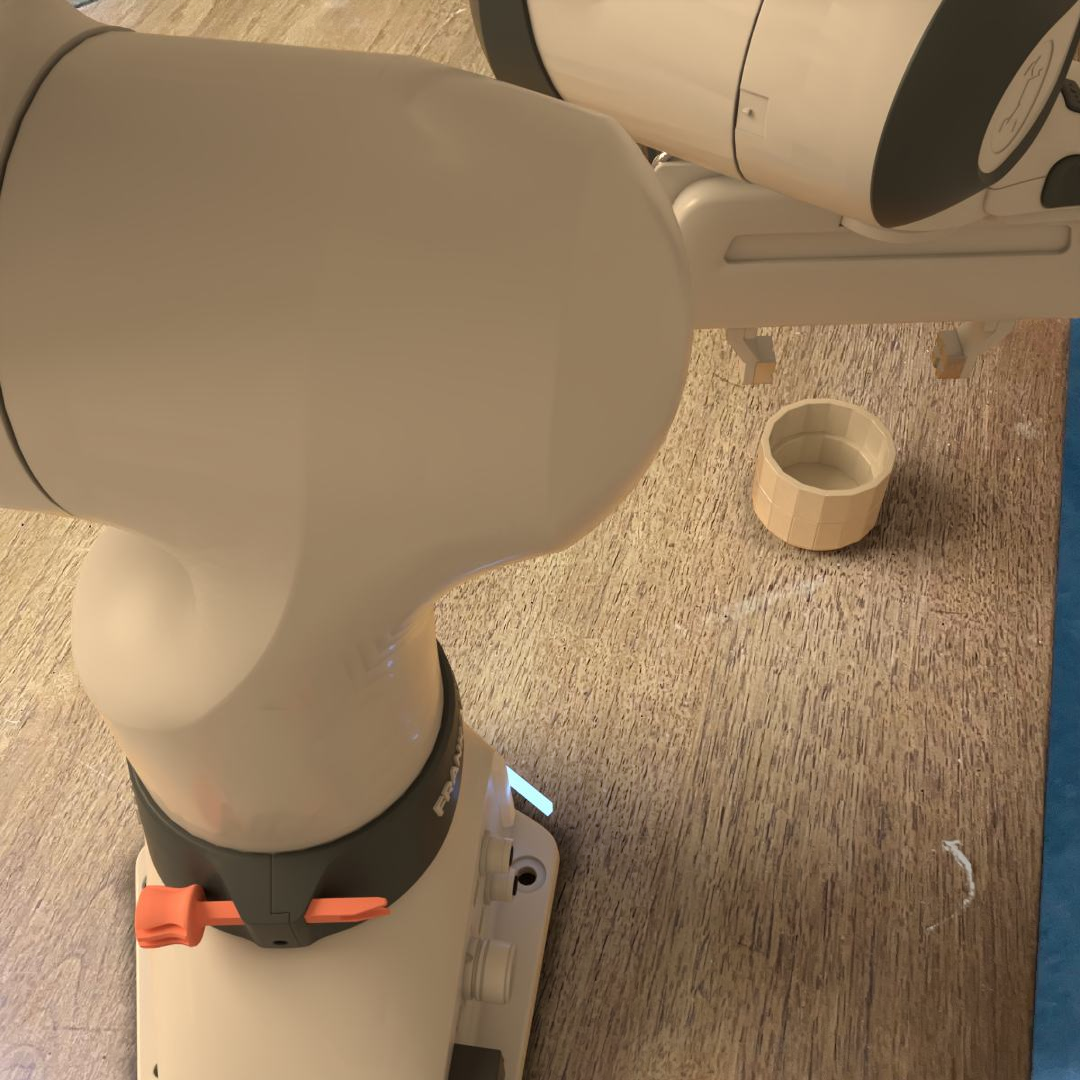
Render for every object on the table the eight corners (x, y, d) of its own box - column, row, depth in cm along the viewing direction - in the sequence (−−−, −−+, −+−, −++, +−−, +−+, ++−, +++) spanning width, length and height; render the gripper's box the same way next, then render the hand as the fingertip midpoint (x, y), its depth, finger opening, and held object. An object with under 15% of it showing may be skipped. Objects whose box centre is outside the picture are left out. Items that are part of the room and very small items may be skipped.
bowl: (887, 553, 64) (907, 493, 60) (759, 557, 64) (771, 497, 60) (864, 458, 68) (881, 396, 64) (744, 462, 68) (754, 400, 64)
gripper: (655, 185, 46) (642, 427, 57) (1198, 167, 46) (1077, 414, 57) (645, 88, 50) (634, 333, 61) (1146, 71, 49) (1042, 321, 60)
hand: (851, 372), depth 59 cm, fingers open, 8 cm apart
